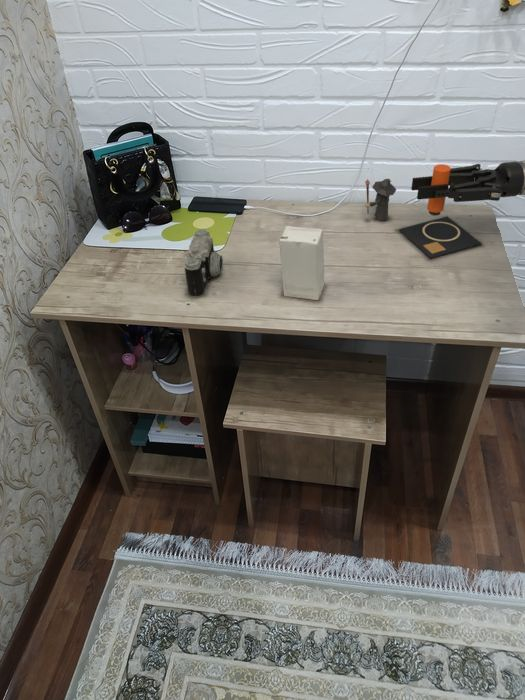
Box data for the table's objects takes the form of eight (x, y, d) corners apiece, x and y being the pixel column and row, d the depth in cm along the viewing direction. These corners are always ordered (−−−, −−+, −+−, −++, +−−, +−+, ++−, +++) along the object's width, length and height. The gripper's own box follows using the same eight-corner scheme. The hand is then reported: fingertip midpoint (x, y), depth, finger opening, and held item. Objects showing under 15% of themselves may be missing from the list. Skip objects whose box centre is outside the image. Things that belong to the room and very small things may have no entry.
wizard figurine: (379, 210, 151) (383, 167, 143) (396, 217, 148) (401, 173, 140) (359, 222, 147) (362, 178, 139) (376, 229, 144) (381, 185, 136)
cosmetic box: (324, 286, 128) (326, 228, 118) (318, 302, 124) (319, 243, 114) (288, 281, 130) (287, 223, 120) (281, 296, 126) (278, 238, 116)
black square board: (480, 245, 137) (481, 242, 136) (430, 259, 133) (430, 256, 133) (446, 218, 146) (447, 215, 146) (399, 230, 143) (399, 228, 143)
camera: (216, 297, 127) (211, 260, 120) (186, 297, 128) (180, 259, 121) (227, 260, 137) (222, 223, 131) (199, 259, 138) (194, 223, 131)
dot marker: (443, 216, 131) (452, 171, 123) (427, 216, 131) (435, 171, 124) (441, 208, 133) (449, 163, 126) (425, 209, 134) (432, 164, 126)
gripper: (529, 211, 125) (424, 222, 124) (498, 177, 137) (402, 187, 136) (539, 179, 120) (429, 190, 119) (506, 147, 132) (406, 156, 131)
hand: (415, 188), depth 127 cm, fingers closed on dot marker, 4 cm apart
